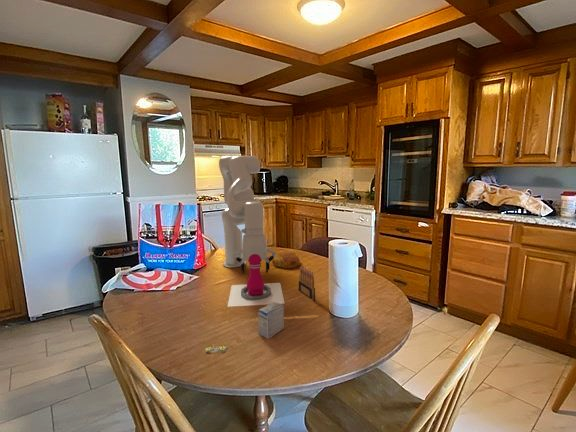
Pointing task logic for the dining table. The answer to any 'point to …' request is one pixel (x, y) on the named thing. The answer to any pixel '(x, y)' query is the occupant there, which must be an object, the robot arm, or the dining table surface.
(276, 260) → the brown rounded lump
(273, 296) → the seat board
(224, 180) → the robot arm
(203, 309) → the dining table surface
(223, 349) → the bearing assembly
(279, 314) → the medicine box
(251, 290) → the pepper mill
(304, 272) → the ammunition clip
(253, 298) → the ring collar
